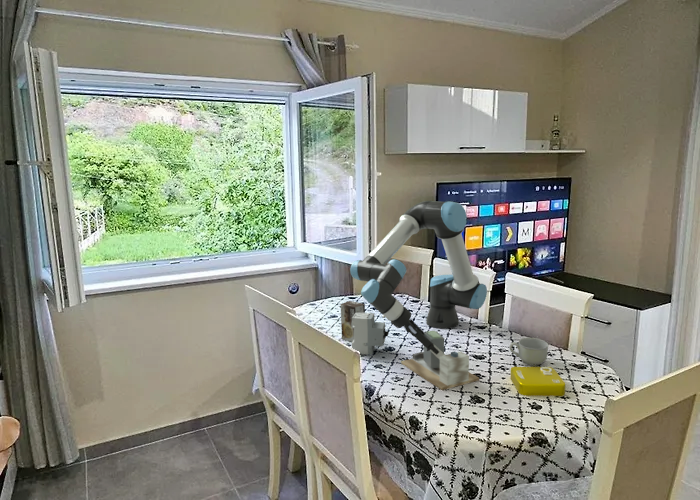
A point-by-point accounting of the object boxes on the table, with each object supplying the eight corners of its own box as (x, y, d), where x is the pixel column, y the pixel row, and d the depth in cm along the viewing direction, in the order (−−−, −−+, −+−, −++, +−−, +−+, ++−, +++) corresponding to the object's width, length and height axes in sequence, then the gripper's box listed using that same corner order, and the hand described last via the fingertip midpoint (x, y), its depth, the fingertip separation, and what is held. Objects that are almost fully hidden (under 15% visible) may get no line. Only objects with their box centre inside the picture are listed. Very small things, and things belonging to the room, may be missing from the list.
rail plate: (435, 355, 202) (435, 328, 200) (479, 380, 179) (479, 350, 177) (401, 363, 196) (401, 335, 194) (441, 390, 173) (442, 359, 171)
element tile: (508, 377, 182) (509, 364, 181) (551, 377, 181) (552, 365, 180) (520, 397, 168) (520, 383, 167) (566, 397, 167) (567, 383, 166)
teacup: (547, 358, 197) (548, 338, 196) (548, 369, 187) (549, 348, 186) (509, 354, 202) (510, 335, 200) (508, 365, 192) (509, 345, 190)
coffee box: (366, 339, 222) (365, 303, 219) (356, 343, 218) (355, 307, 215) (350, 335, 228) (350, 300, 226) (340, 338, 224) (340, 303, 221)
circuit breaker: (387, 355, 204) (386, 319, 201) (352, 353, 207) (351, 318, 204) (389, 348, 211) (389, 313, 208) (355, 346, 214) (354, 312, 211)
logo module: (436, 358, 193) (436, 329, 191) (443, 367, 186) (444, 336, 184) (423, 360, 193) (423, 330, 190) (430, 368, 185) (431, 338, 183)
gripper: (384, 312, 195) (425, 349, 199) (395, 330, 174) (440, 372, 179) (398, 298, 194) (439, 336, 199) (410, 315, 174) (455, 356, 178)
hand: (439, 353), depth 189 cm, fingers closed on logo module, 8 cm apart
